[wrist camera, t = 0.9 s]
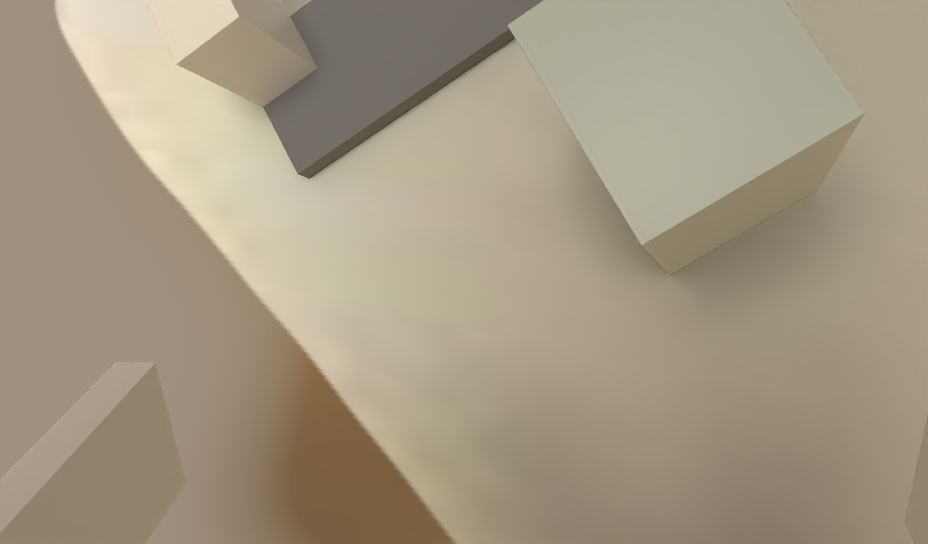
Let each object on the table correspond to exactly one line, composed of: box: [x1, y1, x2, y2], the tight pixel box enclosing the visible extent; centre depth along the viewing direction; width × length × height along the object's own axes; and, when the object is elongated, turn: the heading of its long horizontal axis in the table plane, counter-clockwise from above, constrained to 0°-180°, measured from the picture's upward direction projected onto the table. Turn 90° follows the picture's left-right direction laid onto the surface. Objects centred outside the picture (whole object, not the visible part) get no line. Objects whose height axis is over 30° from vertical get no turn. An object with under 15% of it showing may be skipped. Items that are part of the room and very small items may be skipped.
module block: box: [508, 0, 864, 275], centre depth 26 cm, size 6×7×11 cm
